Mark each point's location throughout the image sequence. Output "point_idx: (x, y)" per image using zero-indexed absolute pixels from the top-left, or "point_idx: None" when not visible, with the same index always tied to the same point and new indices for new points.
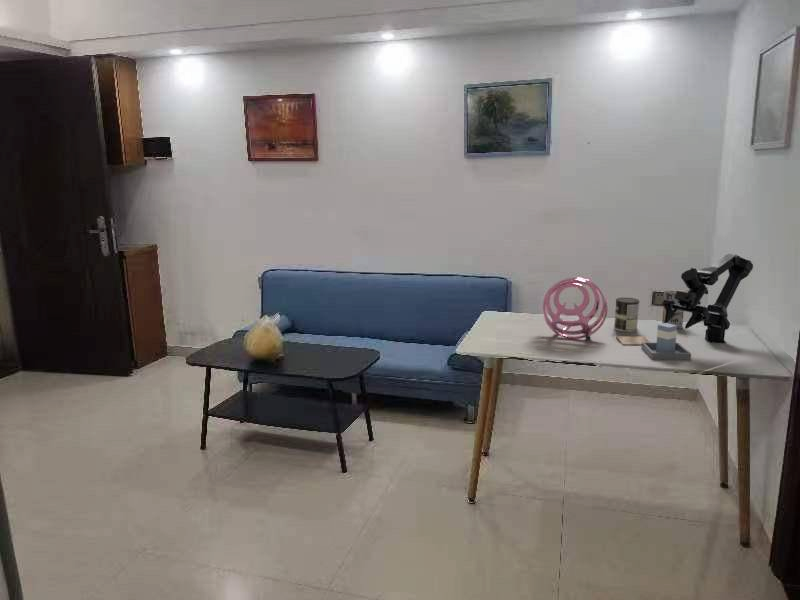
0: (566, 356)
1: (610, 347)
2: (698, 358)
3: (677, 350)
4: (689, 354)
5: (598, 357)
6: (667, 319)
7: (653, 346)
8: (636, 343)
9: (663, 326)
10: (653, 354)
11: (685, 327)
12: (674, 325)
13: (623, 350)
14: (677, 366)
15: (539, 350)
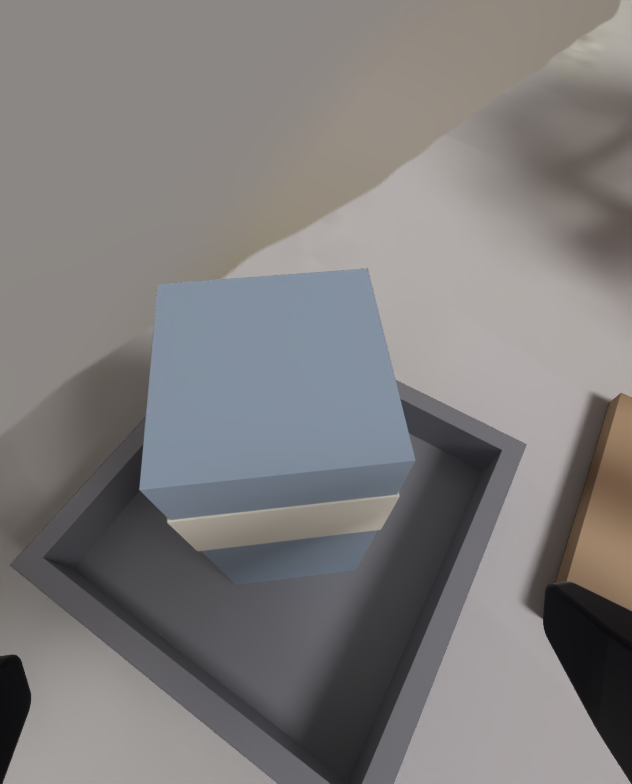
0: (496, 107)
1: (596, 321)
2: (28, 739)
3: (304, 735)
4: (29, 553)
5: (433, 178)
6: (629, 694)
7: (459, 536)
8: (617, 499)
9: (266, 280)
10: None
11: (2, 656)
12: (177, 447)
13: (508, 343)
14: (66, 385)
15: (609, 83)
